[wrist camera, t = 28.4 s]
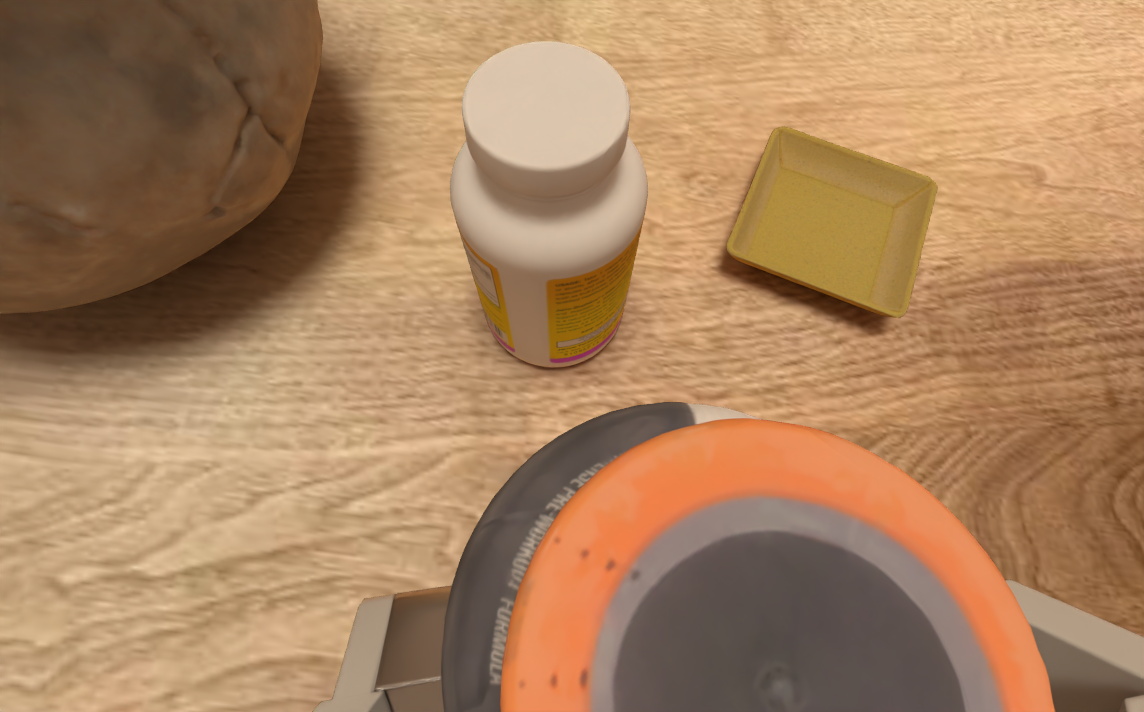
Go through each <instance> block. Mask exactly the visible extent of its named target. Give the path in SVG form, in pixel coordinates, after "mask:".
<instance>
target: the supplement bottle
mask: <svg viewBox="0 0 1144 712" xmlns="http://www.w3.org/2000/svg"><path fill="white" fill-rule="evenodd" d="M462 115H463V121H464V127H465V133H466V141H465V143H464V144H463V146H462V148H461V150H460V151H459V153H458V155H457V157H456V159H455V162H454V165H453V169H452V174H451V180H450V196H451V204H452V208H453V212H454V215H455V220H456V223H457V226H458V229H459V232H460V235H461V239H462V242H463V245H464V248H465V251H466V254H467V257H468V261H469V264H470V268H471V271H472V274H473V278H474V281H475V284H476V287H477V290H478V294H479V297H480V301H481V304H482V307H483V310H484V314H485V317H486V319H487V322H488V324H489V327H490V329H491V331H492V333H493V335H494V336H495V338H496V339H497V340H498V342H499V343H500V344H501V345H502V346H503V347H504V348H505V349H506V350H507V351H508V352H510V353H511V354H512V355H514V356H515V357H517V358H519V359H521V360H523V361H525V362H527V363H530V364H534V365H538V366H543V367H564V366H570V365H574V364H577V363H580V362H582V361H585V360H587V359H589V358H591V357H592V356H594V355H595V354H597V353H598V352H599V351H601V350H602V349H603V348H604V347H605V346H606V345H607V344H608V342H609V341H610V340H611V339H612V337H613V336H614V334H615V332H616V331H617V329H618V326H619V324H620V321H621V318H622V314H623V310H624V306H625V302H626V297H627V293H628V289H629V284H630V279H631V275H632V270H633V265H634V260H635V256H636V251H637V247H638V242H639V237H640V233H641V228H642V224H643V219H644V215H645V209H646V203H647V196H648V183H647V175H646V171H645V167H644V163H643V161H642V158H641V156H640V154H639V151H638V150H637V148H636V147H635V145H634V143H633V142H632V140H631V139H630V138H629V137H628V127H629V118H630V100H629V95H628V91H627V88H626V86H625V83H624V81H623V80H622V78H621V77H620V75H619V73H618V72H617V71H616V70H615V69H614V68H613V67H612V66H611V65H610V64H609V63H608V62H607V61H605V60H604V59H603V58H601V57H600V56H598V55H597V54H595V53H593V52H591V51H589V50H587V49H585V48H582V47H579V46H576V45H572V44H568V43H563V42H555V41H551V42H548V41H542V42H530V43H523V44H519V45H516V46H512V47H510V48H507V49H505V50H503V51H500V52H498V53H497V54H495V55H494V56H492V57H490V58H489V59H487V60H486V61H485V62H484V63H483V64H481V65H480V66H479V67H478V69H477V70H476V71H475V72H474V73H473V75H472V76H471V78H470V79H469V81H468V83H467V85H466V88H465V91H464V95H463V99H462Z"/></svg>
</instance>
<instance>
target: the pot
mask: <svg viewBox="0 0 1144 712" xmlns="http://www.w3.org/2000/svg"><path fill="white" fill-rule="evenodd" d="M322 40H323V34H322V24H321V19H320V15H319V11H318V5H317V0H0V314H4V313H28V312H40V311H48V310H55V309H61V308H67V307H72V306H77V305H82V304H86V303H90V302H94V301H98V300H102V299H105V298H109V297H112V296H115V295H118V294H121V293H124V292H127V291H130V290H133V289H135V288H138V287H140V286H143V285H145V284H147V283H150V282H152V281H154V280H156V279H158V278H160V277H162V276H164V275H166V274H168V273H170V272H172V271H173V270H175V269H177V268H179V267H180V266H182V265H184V264H186V263H188V262H189V261H191V260H193V259H195V258H197V257H199V256H200V255H202V254H204V253H206V252H207V251H209V250H211V249H212V248H214V247H215V246H217V245H218V244H220V243H221V242H223V241H224V240H226V239H227V238H229V237H230V236H231V235H233V234H234V233H236V232H237V231H239V230H240V229H241V228H243V227H244V226H246V225H247V224H248V223H250V222H251V221H252V220H254V219H255V218H256V217H257V216H259V215H260V214H261V213H262V212H263V211H264V210H265V209H266V208H267V207H268V206H269V205H270V204H271V203H272V202H273V200H274V199H275V198H276V197H277V195H278V194H279V192H280V191H281V189H282V188H283V186H284V185H285V183H286V182H287V180H288V178H289V177H290V175H291V173H292V171H293V169H294V166H295V163H296V160H297V157H298V153H299V150H300V146H301V141H302V137H303V132H304V127H305V121H306V116H307V114H308V111H309V108H310V105H311V101H312V97H313V93H314V90H315V86H316V81H317V76H318V72H319V68H320V61H321V52H322Z"/></svg>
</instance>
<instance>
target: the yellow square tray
mask: <svg viewBox="0 0 1144 712" xmlns="http://www.w3.org/2000/svg"><path fill="white" fill-rule="evenodd" d="M937 189H938V187H937V185H936V183H935V182H934V181H933V180H932V179H931V178H930V177H928V176H925V175H922V174H919V173H917V172H914V171H911V170H908V169H905V168H902V167H899V166H897V165H894V164H891V163H888V162H885V161H882V160H879V159H876V158H873V157H870V156H868V155H865V154H863V153H859V152H856V151H853V150H850V149H847V148H845V147H841V146H839V145H836V144H833V143H830V142H827V141H824V140H822V139H819V138H816V137H814V136H810V135H808V134H805V133H803V132H800V131H797V130H794V129H792V128H788V127H779V128H776V129H774V130H773V131H772V133H771V135H770V138H769V140H768V143H767V145H766V148H765V151H764V153H763V156H762V158H761V161H760V163H759V166H758V168H757V171H756V173H755V176H754V178H753V181H752V183H751V186H750V188H749V191H748V193H747V196H746V199H745V201H744V203H743V206H742V207H741V211H740V213H739V215H738V218H737V220H736V223H735V225H734V228H733V230H732V232H731V235H730V237H729V240H728V242H727V246H726V248H727V251H728V253H729V254H730V255H731V256H732V257H733V258H735V259H736V260H738V261H739V262H742V263H745V264H747V265H750V266H753V267H755V268H758V269H761V270H763V271H766V272H769V273H771V274H774V275H776V276H779V277H782V278H784V279H787V280H790V281H792V282H795V283H798V284H800V285H803V286H805V287H808V288H811V289H813V290H816V291H818V292H821V293H824V294H826V295H829V296H832V297H834V298H837V299H839V300H842V301H845V302H847V303H850V304H853V305H855V306H858V307H861V308H863V309H866V310H868V311H871V312H874V313H877V314H880V315H883V316H888V317H894V318H901V317H902V316H904V315H905V313H906V312H907V309H908V306H909V303H910V298H911V294H912V290H913V286H914V282H915V278H916V274H917V269H918V266H919V260H920V258H921V251H922V247H923V244H924V240H925V236H926V232H927V229H928V224H929V220H930V216H931V213H932V209H933V205H934V201H935V196H936V193H937Z"/></svg>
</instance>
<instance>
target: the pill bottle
mask: <svg viewBox="0 0 1144 712" xmlns="http://www.w3.org/2000/svg"><path fill="white" fill-rule="evenodd" d="M441 680H442V696H443V705H444V712H1055V709H1054V704H1053V700H1052V694H1051V688H1050V682H1049V677H1048V674H1047V670H1046V666H1045V664H1044V662H1043V660H1042V657H1041V655H1040V653H1039V651H1038V648H1037V645H1036V642H1035V639H1034V636H1033V633H1032V629H1031V627H1030V625H1029V623H1028V621H1027V619H1026V617H1025V615H1024V613H1023V611H1022V609H1021V607H1020V606H1019V604H1018V602H1017V600H1016V598H1015V596H1014V594H1013V592H1012V591H1011V589H1010V587H1009V586H1008V584H1007V583H1006V581H1005V580H1004V578H1003V576H1002V575H1001V573H1000V572H999V570H998V568H997V567H996V566H995V564H994V563H993V561H992V560H991V559H990V557H989V556H988V554H987V553H986V552H985V550H984V549H983V548H982V547H981V545H980V544H979V543H978V542H977V541H976V539H975V538H974V537H973V536H972V535H971V533H970V532H969V531H968V530H967V529H966V527H965V526H964V525H963V524H962V523H961V522H960V521H959V520H958V519H957V518H956V517H955V516H954V515H953V514H952V513H951V512H950V511H949V510H948V509H947V508H946V507H945V506H944V505H943V504H942V503H941V502H940V501H939V500H938V499H937V498H936V497H935V496H933V495H932V494H931V493H930V492H929V491H928V490H926V489H925V488H924V487H923V486H922V485H920V484H919V483H918V482H917V481H916V480H914V479H913V478H911V477H910V476H909V475H908V474H906V473H905V472H904V471H902V470H901V469H899V468H897V467H895V466H894V465H892V464H890V463H888V462H886V461H884V460H883V459H881V458H880V457H879V456H877V455H875V454H874V453H872V452H870V451H868V450H866V449H864V448H862V447H860V446H858V445H856V444H854V443H852V442H850V441H847V440H845V439H843V438H840V437H838V436H836V435H833V434H831V433H827V432H824V431H821V430H817V429H814V428H810V427H806V426H801V425H796V424H789V423H782V422H776V421H768V420H763V419H760V418H757V417H754V416H751V415H748V414H745V413H743V412H739V411H736V410H732V409H728V408H724V407H718V406H711V405H703V404H688V403H682V402H662V403H654V404H646V405H638V406H633V407H629V408H625V409H620V410H616V411H612V412H609V413H606V414H604V415H601V416H598V417H596V418H593V419H591V420H589V421H587V422H585V423H582V424H580V425H578V426H576V427H574V428H572V429H571V430H569V431H567V432H565V433H564V434H562V435H560V436H558V437H557V438H555V439H554V440H553V441H551V442H550V443H548V444H547V445H545V446H544V447H543V448H541V449H540V450H539V451H538V452H536V453H535V454H534V455H533V456H531V457H530V458H529V459H528V460H527V461H526V462H525V463H524V464H523V465H522V466H521V467H520V468H519V469H518V470H517V471H516V472H515V473H514V474H513V475H512V476H511V477H510V478H509V480H508V481H507V482H506V483H505V484H504V486H503V487H502V488H501V489H500V490H499V491H498V493H497V494H496V495H495V496H494V498H493V499H492V501H491V502H490V504H489V505H488V507H487V508H486V510H485V512H484V513H483V515H482V517H481V519H480V520H479V522H478V524H477V525H476V527H475V529H474V531H473V533H472V535H471V537H470V539H469V541H468V543H467V545H466V547H465V549H464V552H463V554H462V557H461V559H460V562H459V565H458V568H457V571H456V575H455V578H454V581H453V584H452V587H451V591H450V596H449V601H448V606H447V611H446V616H445V623H444V634H443V644H442V658H441Z"/></svg>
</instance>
